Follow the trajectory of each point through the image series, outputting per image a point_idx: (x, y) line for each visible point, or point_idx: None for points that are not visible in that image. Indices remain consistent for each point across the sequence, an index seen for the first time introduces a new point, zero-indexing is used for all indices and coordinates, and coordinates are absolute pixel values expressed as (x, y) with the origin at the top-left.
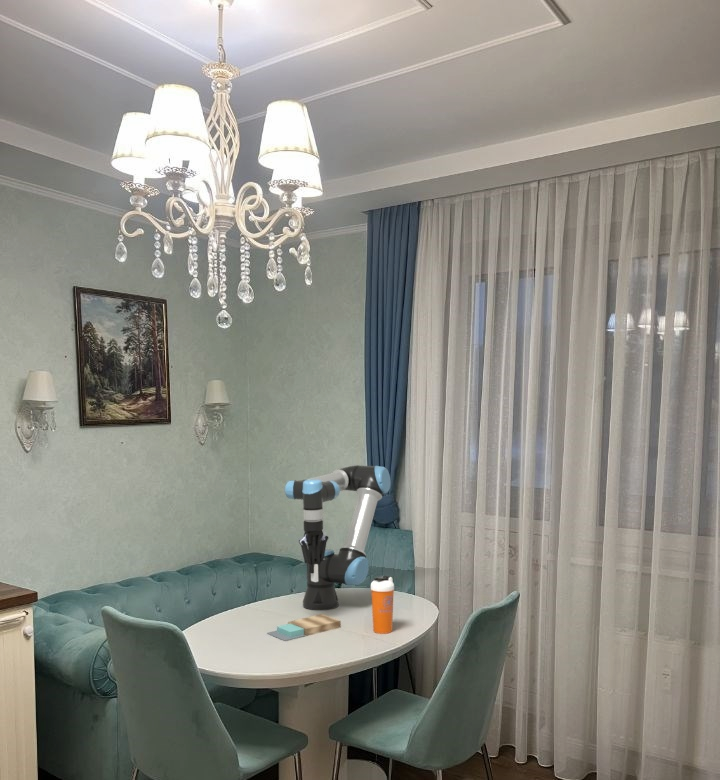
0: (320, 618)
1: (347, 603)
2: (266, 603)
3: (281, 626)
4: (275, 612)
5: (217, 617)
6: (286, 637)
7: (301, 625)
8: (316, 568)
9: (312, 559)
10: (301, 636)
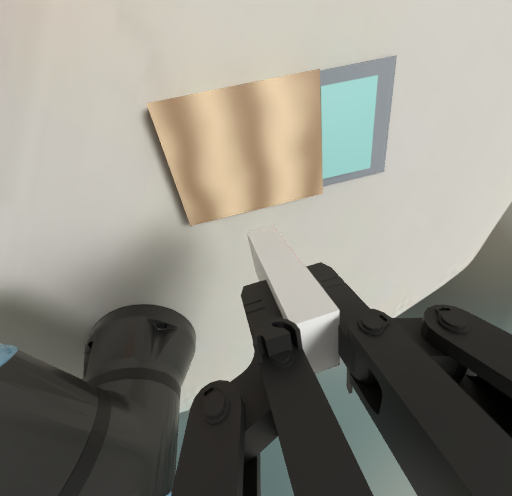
0: (214, 178)
1: (57, 340)
2: None
3: (360, 161)
4: None
5: None
6: None
7: (310, 129)
8: (297, 287)
9: (438, 379)
10: (331, 68)
